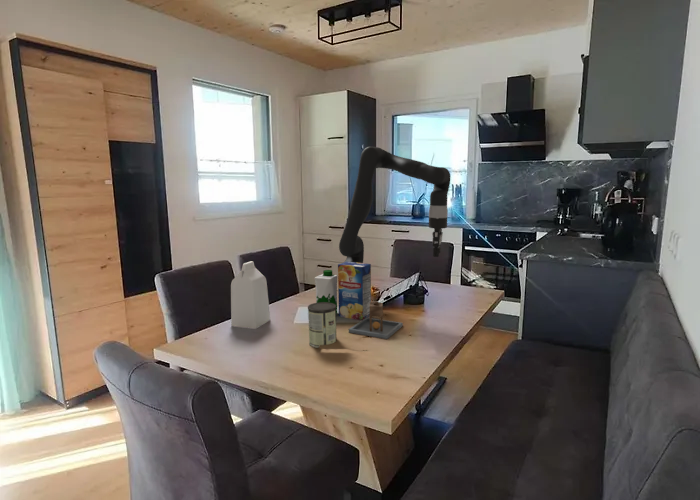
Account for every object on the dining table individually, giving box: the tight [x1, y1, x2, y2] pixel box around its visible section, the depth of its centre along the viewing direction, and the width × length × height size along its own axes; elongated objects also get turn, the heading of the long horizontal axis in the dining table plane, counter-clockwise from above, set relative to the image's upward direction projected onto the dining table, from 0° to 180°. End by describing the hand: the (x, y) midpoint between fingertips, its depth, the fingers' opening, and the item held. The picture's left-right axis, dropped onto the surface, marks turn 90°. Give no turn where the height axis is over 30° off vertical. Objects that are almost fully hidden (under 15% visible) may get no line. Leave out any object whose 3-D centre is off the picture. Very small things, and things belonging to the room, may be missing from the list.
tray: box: [348, 317, 404, 340], centre depth 166 cm, size 16×16×2 cm
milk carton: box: [314, 269, 338, 314], centre depth 185 cm, size 9×9×20 cm
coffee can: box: [307, 302, 337, 349], centre depth 154 cm, size 10×10×14 cm
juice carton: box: [337, 261, 372, 321], centre depth 181 cm, size 12×8×24 cm, turn 60°
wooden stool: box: [369, 300, 384, 331], centre depth 165 cm, size 5×5×11 cm
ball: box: [372, 322, 380, 329], centre depth 166 cm, size 3×3×3 cm
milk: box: [230, 260, 271, 330], centre depth 177 cm, size 12×12×26 cm
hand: (436, 254), depth 177 cm, fingers open, 8 cm apart
